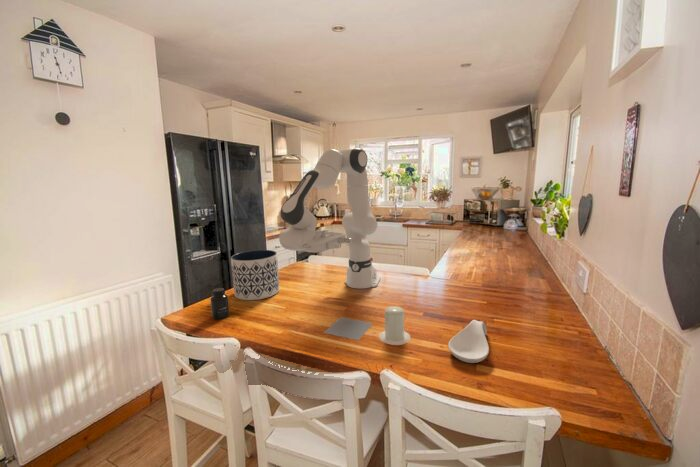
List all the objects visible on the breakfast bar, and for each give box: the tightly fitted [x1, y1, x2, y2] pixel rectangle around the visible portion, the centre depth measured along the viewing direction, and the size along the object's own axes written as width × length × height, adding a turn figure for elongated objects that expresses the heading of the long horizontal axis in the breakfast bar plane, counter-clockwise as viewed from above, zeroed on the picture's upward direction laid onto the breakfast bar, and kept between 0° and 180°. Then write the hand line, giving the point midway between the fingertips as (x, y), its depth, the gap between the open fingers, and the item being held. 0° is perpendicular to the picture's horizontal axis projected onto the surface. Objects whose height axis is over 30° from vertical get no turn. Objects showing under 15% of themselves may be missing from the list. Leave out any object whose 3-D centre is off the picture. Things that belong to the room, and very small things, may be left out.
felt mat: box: [323, 316, 373, 341], centre depth 115 cm, size 14×14×1 cm
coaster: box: [378, 330, 412, 346], centre depth 108 cm, size 11×11×1 cm
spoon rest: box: [447, 319, 490, 364], centre depth 99 cm, size 24×12×7 cm, turn 147°
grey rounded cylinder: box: [384, 305, 405, 342], centre depth 107 cm, size 6×6×10 cm
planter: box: [230, 249, 280, 301], centre depth 156 cm, size 22×22×20 cm
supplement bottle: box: [209, 287, 230, 320], centre depth 129 cm, size 7×7×12 cm
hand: (345, 243), depth 117 cm, fingers open, 8 cm apart
